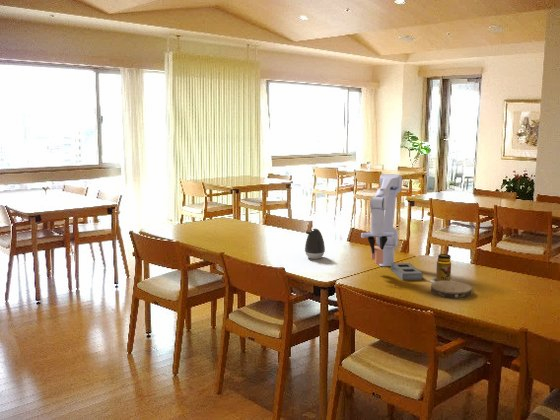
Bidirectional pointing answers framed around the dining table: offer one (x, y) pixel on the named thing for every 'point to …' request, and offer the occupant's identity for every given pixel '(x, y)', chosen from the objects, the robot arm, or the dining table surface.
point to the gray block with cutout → (406, 271)
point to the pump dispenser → (314, 244)
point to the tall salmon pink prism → (377, 255)
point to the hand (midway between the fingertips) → (376, 252)
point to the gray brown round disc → (451, 289)
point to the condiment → (443, 268)
